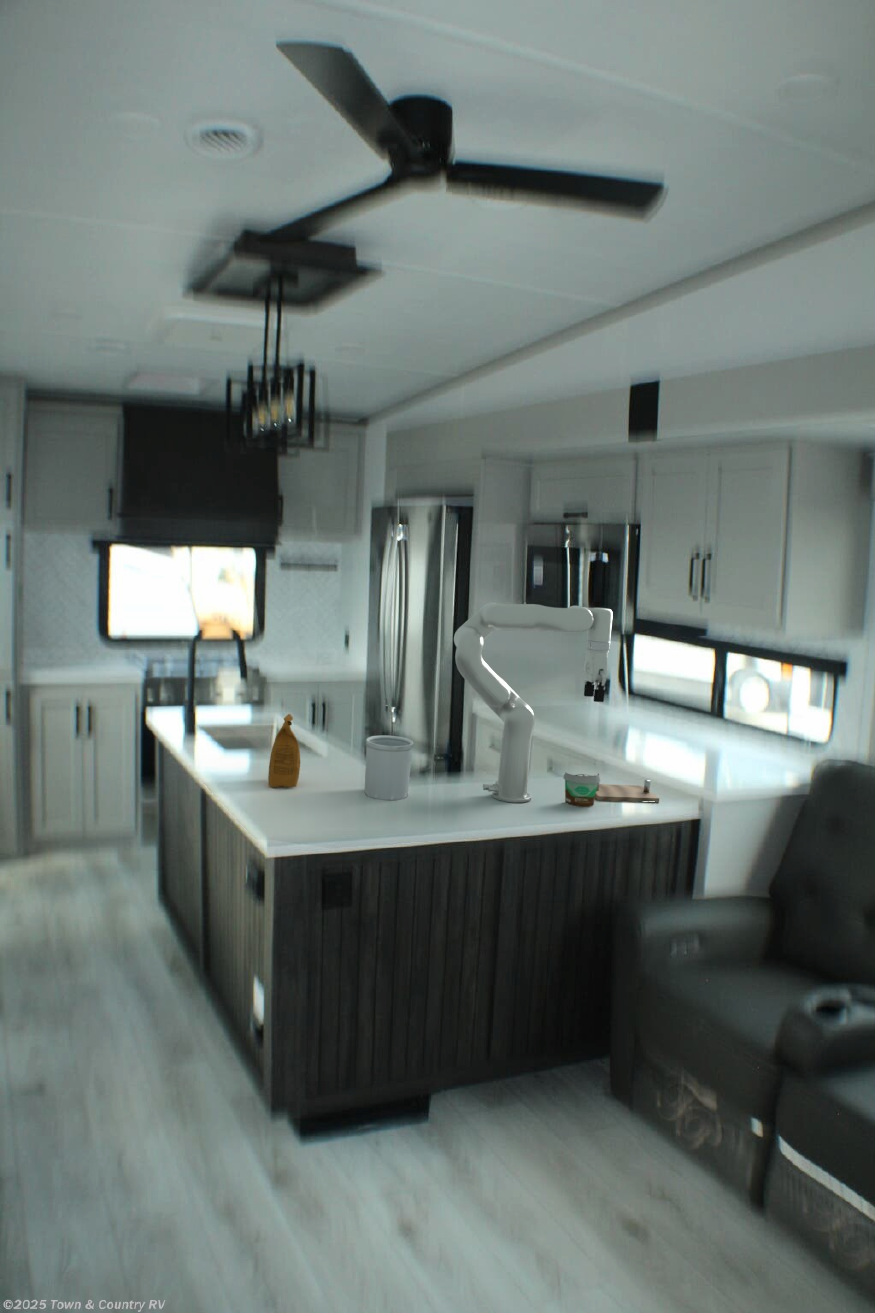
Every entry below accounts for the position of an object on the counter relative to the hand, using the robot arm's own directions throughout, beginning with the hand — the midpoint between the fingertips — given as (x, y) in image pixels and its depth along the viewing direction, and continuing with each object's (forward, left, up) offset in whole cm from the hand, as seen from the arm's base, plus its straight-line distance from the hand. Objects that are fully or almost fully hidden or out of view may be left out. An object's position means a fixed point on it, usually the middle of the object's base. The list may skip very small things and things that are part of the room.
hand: (593, 699), depth 322 cm
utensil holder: (-65, 0, -34) cm, 73 cm away
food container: (-2, -5, -34) cm, 35 cm away
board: (+16, +9, -34) cm, 39 cm away
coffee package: (-97, +8, -34) cm, 103 cm away
